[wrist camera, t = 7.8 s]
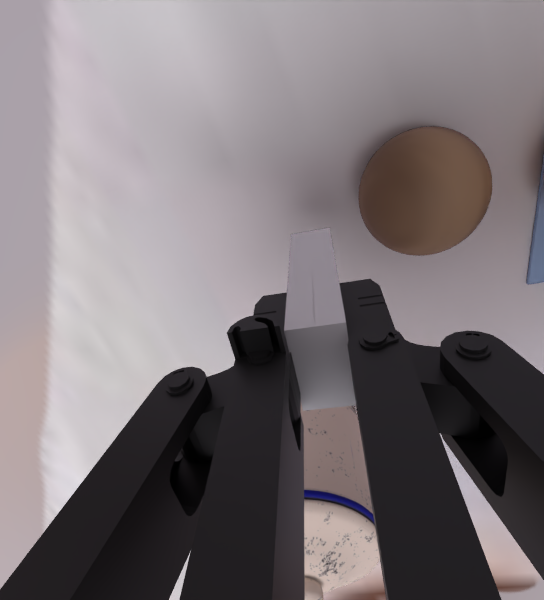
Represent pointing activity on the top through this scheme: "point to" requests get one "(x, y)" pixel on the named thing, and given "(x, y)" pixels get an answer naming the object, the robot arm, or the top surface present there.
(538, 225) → the mark
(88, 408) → the top surface
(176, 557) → the robot arm
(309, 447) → the teacup with lid
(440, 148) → the walnut ball
